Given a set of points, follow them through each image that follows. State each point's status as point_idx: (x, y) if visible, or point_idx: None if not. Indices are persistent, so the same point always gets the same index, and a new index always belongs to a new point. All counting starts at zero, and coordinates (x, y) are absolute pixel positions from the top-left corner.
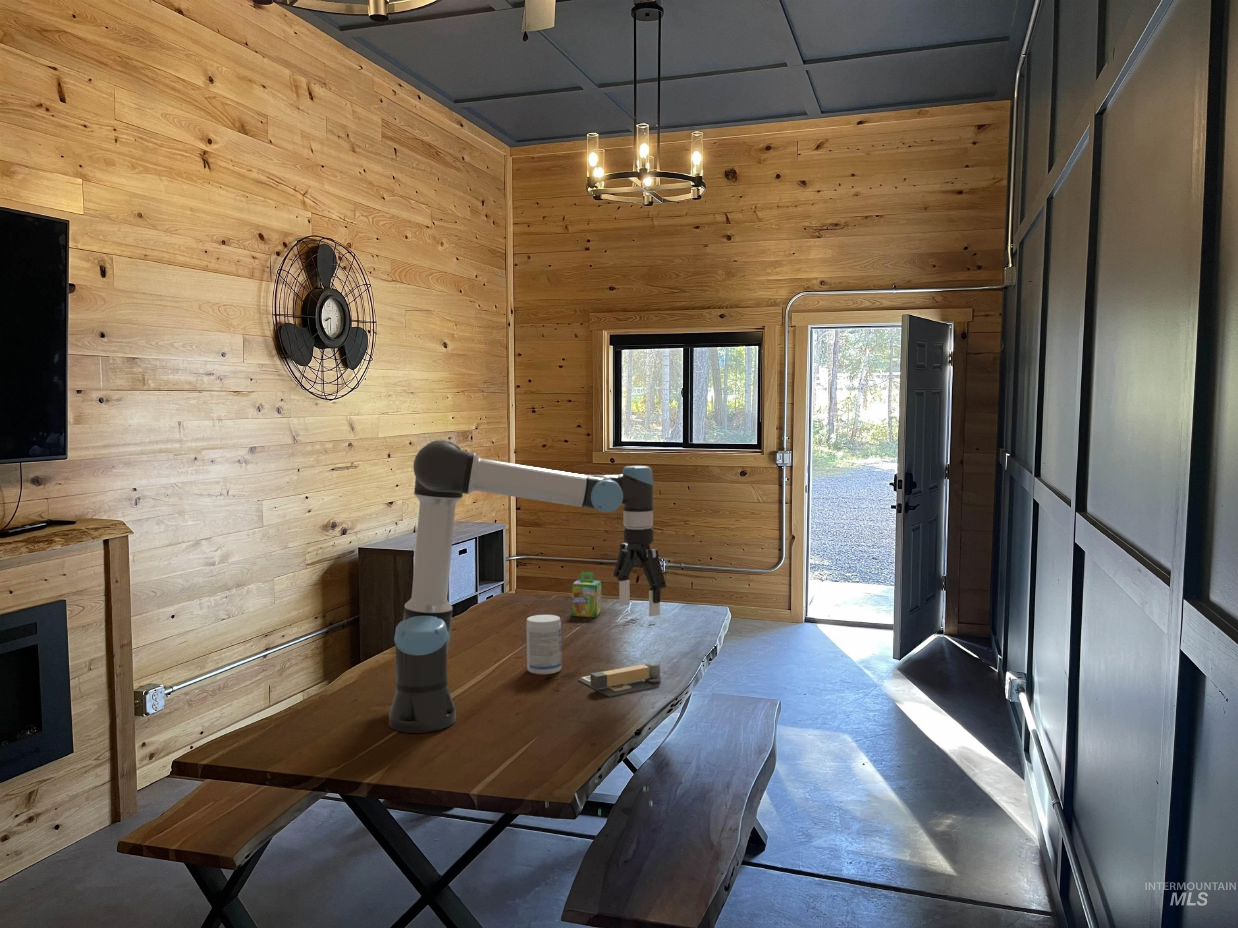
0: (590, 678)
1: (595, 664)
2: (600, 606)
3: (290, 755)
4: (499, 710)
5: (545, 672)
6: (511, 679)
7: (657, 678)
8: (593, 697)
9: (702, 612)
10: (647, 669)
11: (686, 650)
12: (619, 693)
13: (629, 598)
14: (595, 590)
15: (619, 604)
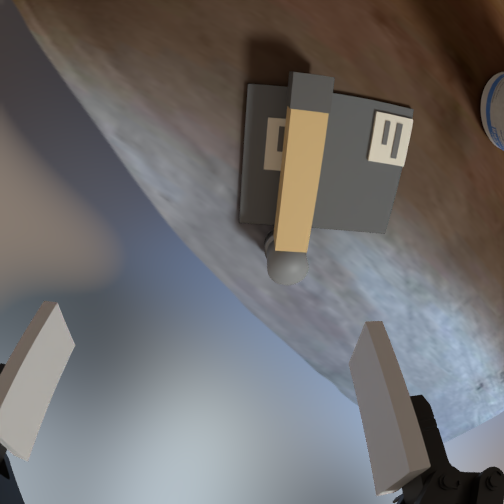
0: (389, 129)
1: (460, 220)
2: None
3: None
4: None
5: (487, 84)
6: (499, 16)
7: (266, 251)
8: (272, 50)
9: (445, 434)
10: (275, 242)
11: None
12: (246, 117)
13: (356, 392)
14: None
15: (383, 326)
